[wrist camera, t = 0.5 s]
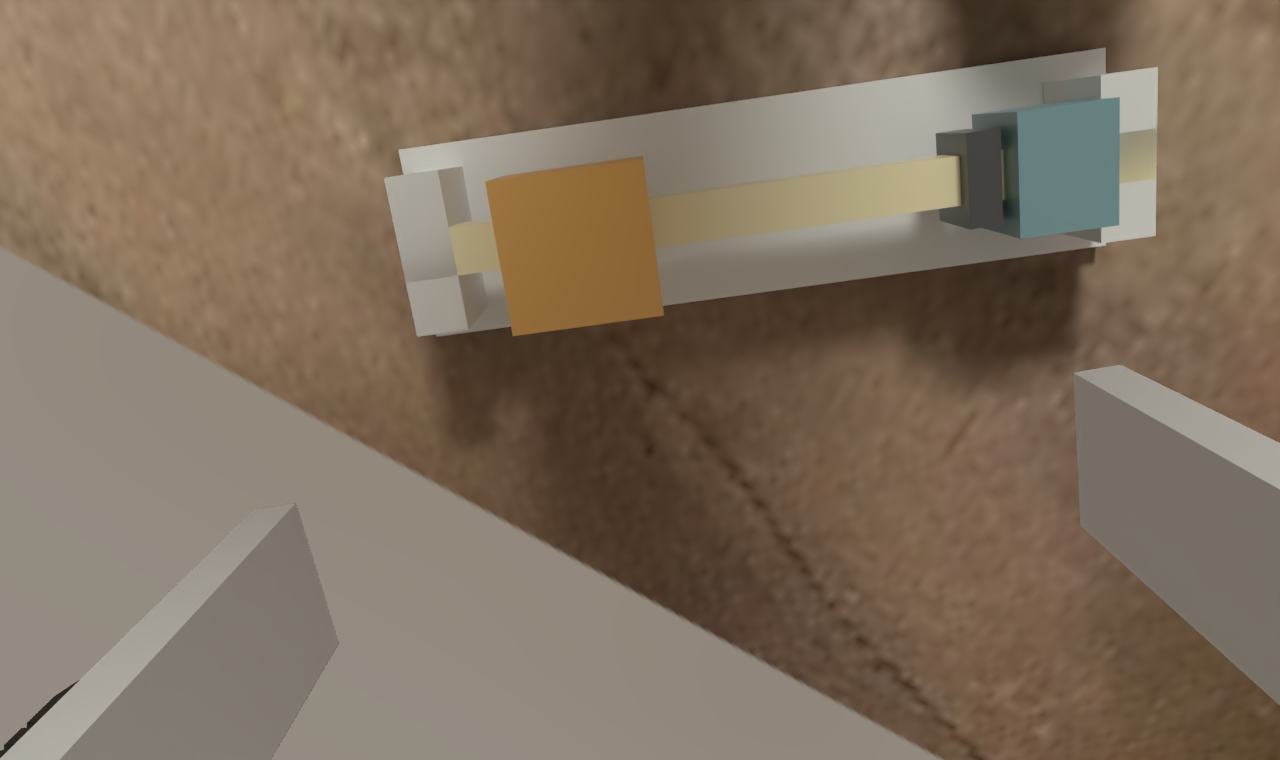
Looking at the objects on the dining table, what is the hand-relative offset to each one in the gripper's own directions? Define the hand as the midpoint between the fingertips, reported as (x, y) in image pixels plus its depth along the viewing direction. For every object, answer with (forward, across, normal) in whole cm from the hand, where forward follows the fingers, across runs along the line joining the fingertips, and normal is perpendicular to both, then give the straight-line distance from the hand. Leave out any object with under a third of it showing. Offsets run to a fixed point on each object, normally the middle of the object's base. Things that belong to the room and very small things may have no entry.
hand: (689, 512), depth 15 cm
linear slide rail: (+25, +5, +3) cm, 26 cm away
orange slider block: (+22, -2, +3) cm, 23 cm away
